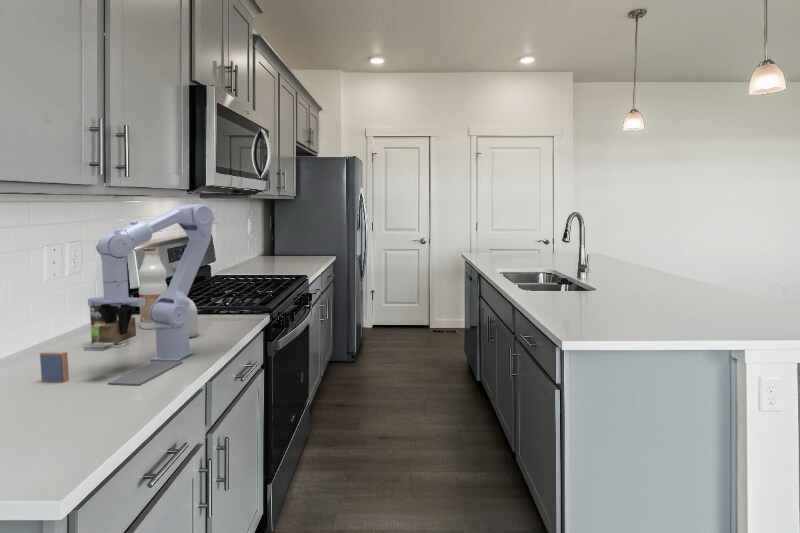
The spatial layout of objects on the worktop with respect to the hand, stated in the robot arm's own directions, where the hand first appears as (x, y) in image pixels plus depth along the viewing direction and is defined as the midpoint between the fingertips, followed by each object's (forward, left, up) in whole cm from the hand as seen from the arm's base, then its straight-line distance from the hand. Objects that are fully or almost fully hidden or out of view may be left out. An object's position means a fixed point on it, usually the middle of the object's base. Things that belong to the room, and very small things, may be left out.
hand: (118, 333), depth 156 cm
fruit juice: (-55, -21, -10) cm, 60 cm away
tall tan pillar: (+2, 0, -2) cm, 3 cm away
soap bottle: (-40, -4, -10) cm, 41 cm away
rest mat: (+3, +9, -9) cm, 13 cm away
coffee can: (-27, -20, -10) cm, 35 cm away
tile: (+11, -10, -9) cm, 18 cm away
